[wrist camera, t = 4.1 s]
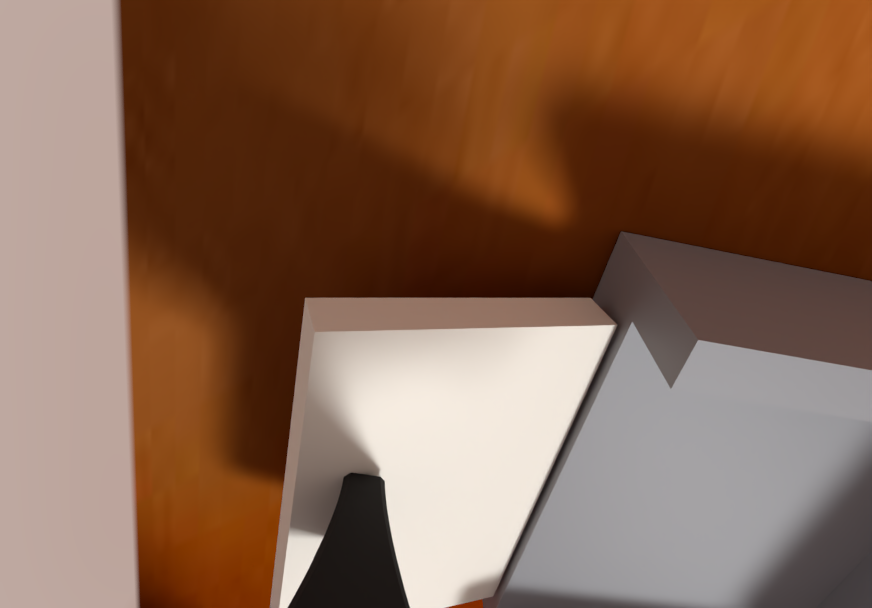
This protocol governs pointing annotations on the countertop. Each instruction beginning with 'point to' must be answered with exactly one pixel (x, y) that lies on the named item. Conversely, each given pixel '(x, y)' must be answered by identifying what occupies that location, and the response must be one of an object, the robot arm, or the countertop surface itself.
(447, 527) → the panel
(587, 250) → the countertop surface
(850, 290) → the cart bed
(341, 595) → the robot arm
